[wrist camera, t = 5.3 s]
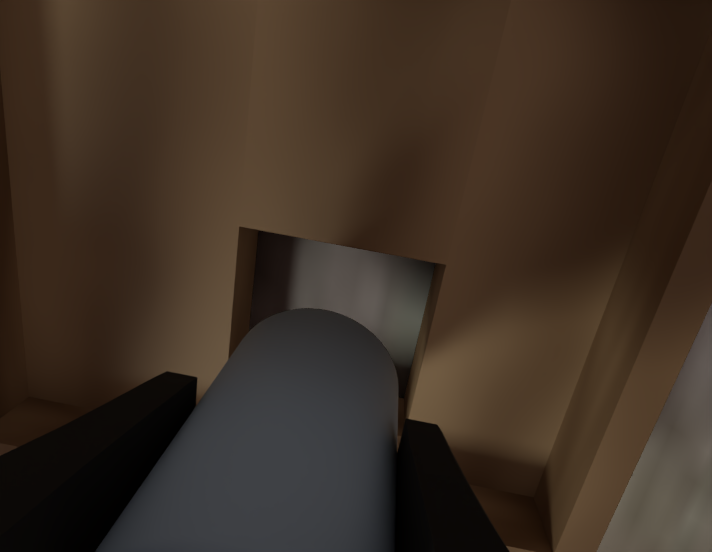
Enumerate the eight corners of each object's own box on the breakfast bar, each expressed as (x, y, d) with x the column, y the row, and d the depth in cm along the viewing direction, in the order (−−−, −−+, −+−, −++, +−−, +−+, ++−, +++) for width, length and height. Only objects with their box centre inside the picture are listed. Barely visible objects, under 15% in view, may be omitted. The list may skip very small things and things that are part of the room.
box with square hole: (45, 382, 17) (-55, 459, 13) (5, -167, 12) (-183, -299, 8) (538, 480, 17) (578, 589, 13) (738, -48, 11) (911, -128, 7)
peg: (230, 441, 12) (76, 737, 6) (232, 297, 11) (36, 514, 5) (387, 465, 12) (369, 795, 6) (410, 321, 10) (415, 576, 5)
